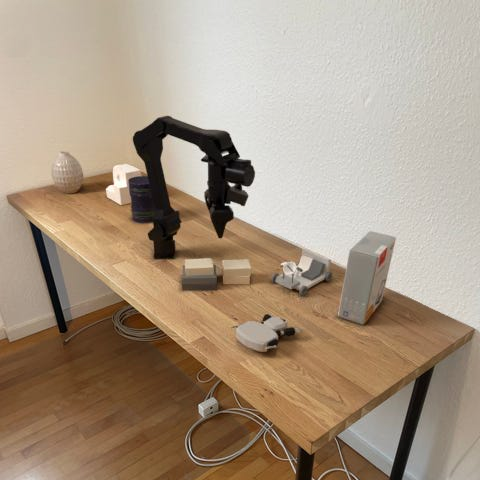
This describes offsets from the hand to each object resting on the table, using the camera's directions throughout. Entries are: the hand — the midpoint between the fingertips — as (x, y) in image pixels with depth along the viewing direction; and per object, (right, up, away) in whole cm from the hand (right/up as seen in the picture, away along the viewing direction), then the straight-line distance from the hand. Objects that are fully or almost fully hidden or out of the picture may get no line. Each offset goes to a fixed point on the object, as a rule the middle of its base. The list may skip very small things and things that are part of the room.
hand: (218, 231), depth 143 cm
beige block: (+5, -14, +4) cm, 15 cm away
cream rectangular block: (-6, -12, -1) cm, 13 cm away
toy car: (+24, -15, +3) cm, 29 cm away
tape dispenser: (-43, +26, +62) cm, 80 cm away
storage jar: (-30, +13, +43) cm, 54 cm away
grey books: (-6, -15, +1) cm, 16 cm away
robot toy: (+13, -31, -22) cm, 41 cm away
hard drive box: (+40, -23, -9) cm, 47 cm away
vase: (-68, +30, +68) cm, 101 cm away
